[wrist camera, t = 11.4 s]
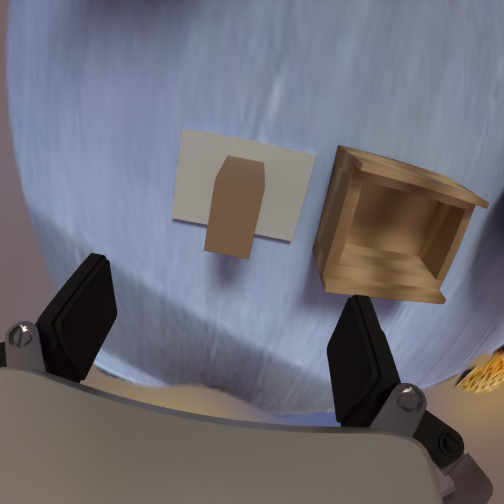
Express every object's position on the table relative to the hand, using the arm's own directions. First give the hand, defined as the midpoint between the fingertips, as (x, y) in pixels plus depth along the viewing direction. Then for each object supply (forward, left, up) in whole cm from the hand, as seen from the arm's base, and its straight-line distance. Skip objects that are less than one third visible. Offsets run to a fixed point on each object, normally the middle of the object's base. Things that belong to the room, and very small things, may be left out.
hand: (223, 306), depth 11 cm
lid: (0, 0, -16) cm, 16 cm away
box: (-13, 0, -16) cm, 21 cm away
